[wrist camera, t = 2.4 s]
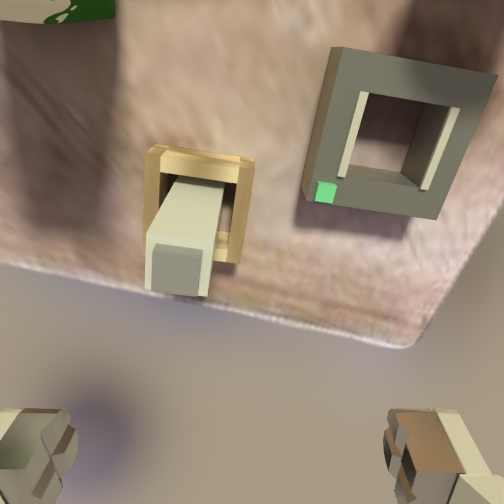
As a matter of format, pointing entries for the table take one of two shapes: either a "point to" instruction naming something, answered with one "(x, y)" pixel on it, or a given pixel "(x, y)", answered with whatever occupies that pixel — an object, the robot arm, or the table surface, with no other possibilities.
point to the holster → (207, 167)
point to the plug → (184, 237)
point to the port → (423, 144)
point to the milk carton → (55, 10)
